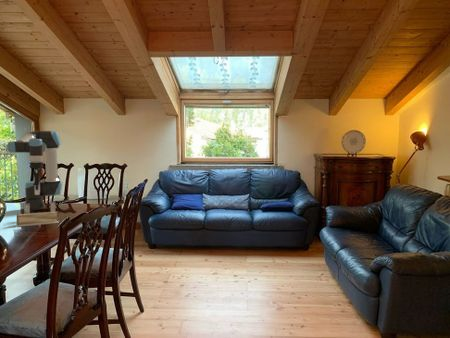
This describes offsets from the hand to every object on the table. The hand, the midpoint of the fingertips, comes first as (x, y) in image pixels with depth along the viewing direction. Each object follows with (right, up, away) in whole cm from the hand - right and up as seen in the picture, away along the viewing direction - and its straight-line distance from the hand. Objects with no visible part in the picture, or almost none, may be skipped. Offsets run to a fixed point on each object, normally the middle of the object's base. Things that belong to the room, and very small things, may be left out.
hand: (37, 193), depth 209 cm
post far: (+1, -19, +17) cm, 26 cm away
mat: (0, -21, +2) cm, 21 cm away
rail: (0, -20, +2) cm, 20 cm away
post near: (-13, -20, +9) cm, 25 cm away
